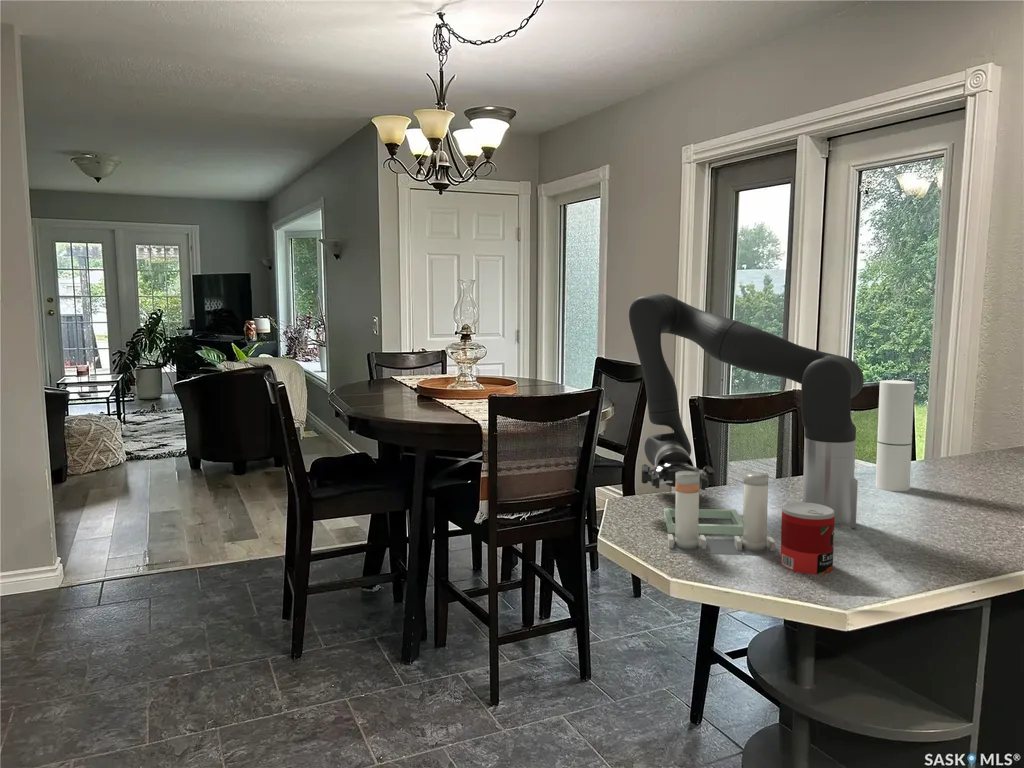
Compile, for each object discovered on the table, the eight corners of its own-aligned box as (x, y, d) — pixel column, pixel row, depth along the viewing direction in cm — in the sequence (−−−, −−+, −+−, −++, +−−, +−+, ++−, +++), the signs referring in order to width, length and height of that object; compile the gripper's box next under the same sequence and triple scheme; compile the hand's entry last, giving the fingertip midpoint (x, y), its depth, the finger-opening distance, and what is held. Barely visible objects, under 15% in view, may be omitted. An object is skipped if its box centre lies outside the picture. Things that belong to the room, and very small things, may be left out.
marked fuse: (697, 541, 132) (698, 471, 130) (699, 549, 127) (700, 476, 126) (673, 541, 132) (674, 470, 131) (675, 548, 128) (676, 476, 127)
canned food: (828, 586, 114) (830, 518, 113) (775, 577, 118) (777, 510, 117) (836, 570, 121) (838, 505, 119) (785, 562, 125) (787, 499, 124)
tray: (735, 524, 146) (735, 509, 146) (745, 542, 135) (745, 526, 135) (663, 522, 148) (663, 508, 148) (668, 540, 137) (668, 524, 137)
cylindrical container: (910, 486, 173) (915, 381, 170) (908, 492, 167) (913, 384, 164) (877, 482, 177) (881, 379, 174) (873, 489, 171) (878, 382, 168)
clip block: (768, 548, 132) (768, 532, 132) (778, 564, 124) (778, 547, 124) (666, 545, 134) (666, 529, 134) (669, 560, 126) (670, 544, 126)
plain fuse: (764, 543, 130) (765, 472, 128) (769, 551, 126) (770, 477, 124) (740, 543, 130) (741, 471, 129) (744, 550, 126) (745, 477, 125)
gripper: (639, 446, 156) (642, 463, 140) (708, 447, 154) (719, 465, 138) (639, 480, 157) (642, 502, 141) (707, 482, 155) (718, 504, 139)
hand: (680, 484), depth 139 cm, fingers open, 8 cm apart
